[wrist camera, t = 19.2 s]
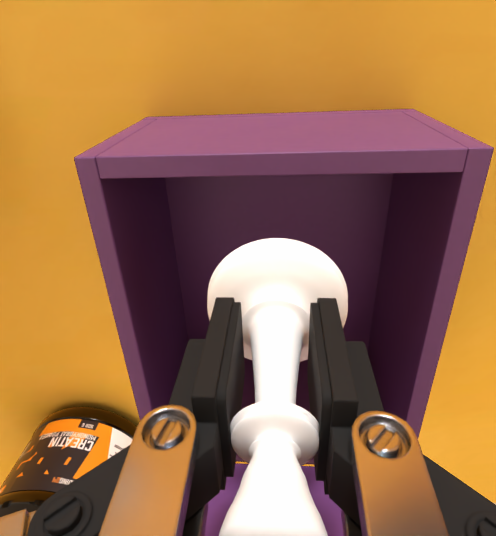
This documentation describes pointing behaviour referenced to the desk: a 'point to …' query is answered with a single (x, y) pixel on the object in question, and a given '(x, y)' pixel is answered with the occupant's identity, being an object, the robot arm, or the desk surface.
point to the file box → (286, 231)
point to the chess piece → (275, 381)
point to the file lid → (226, 497)
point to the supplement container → (63, 455)
